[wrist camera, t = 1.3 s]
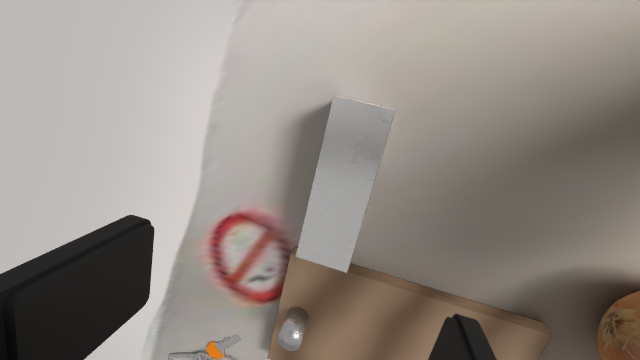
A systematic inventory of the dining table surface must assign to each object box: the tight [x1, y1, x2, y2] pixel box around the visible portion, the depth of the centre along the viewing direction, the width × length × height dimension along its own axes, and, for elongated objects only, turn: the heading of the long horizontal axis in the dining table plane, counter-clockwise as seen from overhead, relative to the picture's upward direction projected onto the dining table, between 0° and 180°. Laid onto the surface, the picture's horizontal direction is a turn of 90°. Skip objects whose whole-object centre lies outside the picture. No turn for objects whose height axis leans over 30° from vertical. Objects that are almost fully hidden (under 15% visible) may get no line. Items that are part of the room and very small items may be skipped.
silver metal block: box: [296, 95, 396, 273], centre depth 23 cm, size 4×12×5 cm, turn 167°
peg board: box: [267, 247, 553, 360], centre depth 26 cm, size 22×12×4 cm, turn 77°
